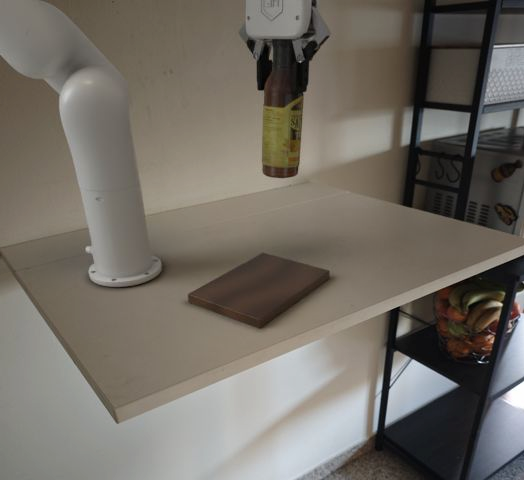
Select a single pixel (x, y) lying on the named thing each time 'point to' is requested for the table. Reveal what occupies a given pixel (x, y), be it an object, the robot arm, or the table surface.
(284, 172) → the sauce bottle
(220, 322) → the table surface
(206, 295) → the serving board
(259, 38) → the robot arm
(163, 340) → the table surface
